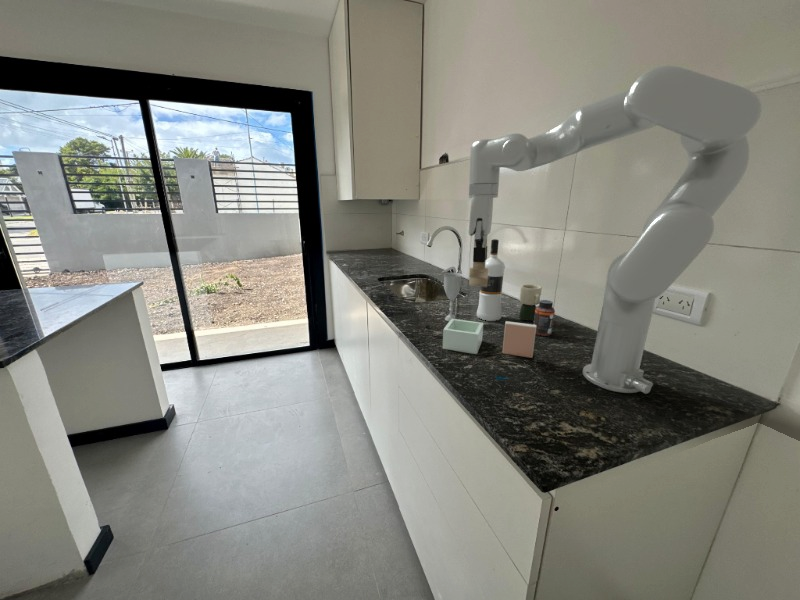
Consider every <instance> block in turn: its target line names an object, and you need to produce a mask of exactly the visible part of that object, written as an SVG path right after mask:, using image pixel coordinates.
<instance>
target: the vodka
mask: <svg viewBox="0 0 800 600" xmlns="http://www.w3.org/2000/svg"><path fill="white" fill-rule="evenodd" d="M498 252H499V239H498V238H497V239H496V238H495V239H494V238H493V239H491V242H490V252H489V257H487V259H486V262H485V268H488V282H487V287H486V286H479V287H480V290H479V293H478V294H479V297H478V298H479V299H478V307H477V310H476V317H477V318H478V319H479V318H480V319H479V320H481V319H482V321H485V320H486V322H495V321H496V320H497V321H499V320H501V318H502V296H503V285H504V282H503V281H504V274H505V267H506V266H505V263H504V262H503V261H502V260H501V259H500V258H499V257H498V254H499V253H498ZM497 321H496V322H497Z"/></svg>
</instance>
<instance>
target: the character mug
mask: <svg viewBox="0 0 800 600" xmlns="http://www.w3.org/2000/svg"><path fill="white" fill-rule="evenodd" d="M541 295H542V286H540V285H537V284H522V285H521V286H520V292H519V303H520V304H521V307H520V310H519V313H518V318H519V319H520V320H523V321H529V320H530V321H534V316H535V309H536V307H537V306H538V305H539V302H540V300H541ZM536 305H537V306H536Z"/></svg>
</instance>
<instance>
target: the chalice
mask: <svg viewBox="0 0 800 600" xmlns="http://www.w3.org/2000/svg"><path fill="white" fill-rule="evenodd" d="M442 274H443V277H444V278H443V279H444V280H443V289H444V292H445V294H446V297H447V299H449V301H450V302H449V304H448V305H449V308H448V310H449V314H447V315H446V316H445V318H444V320H445V321H448V322H449V321H450V320H451V319H457V318H456V315H454V314H453V311H454V300H455V299H457V297H458V295H459V293H460V291H461V288H462V287H461V286H462V277H463V274H462V273H460V272H444V273H442Z"/></svg>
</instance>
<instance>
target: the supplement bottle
mask: <svg viewBox="0 0 800 600" xmlns="http://www.w3.org/2000/svg"><path fill="white" fill-rule="evenodd" d="M553 305H554V303H553V301H551V300H547V299H540V302H539V304H538V305H537V306H536V309H535V316H534V320H533V324H532V325H536V334H535V335H538V336H540V335H541V336H540V337H550V336H552V334H553V327H554V326H553V325H554V319H555V315H556V314H555V312H556V310H555V308H554V307H553Z"/></svg>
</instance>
